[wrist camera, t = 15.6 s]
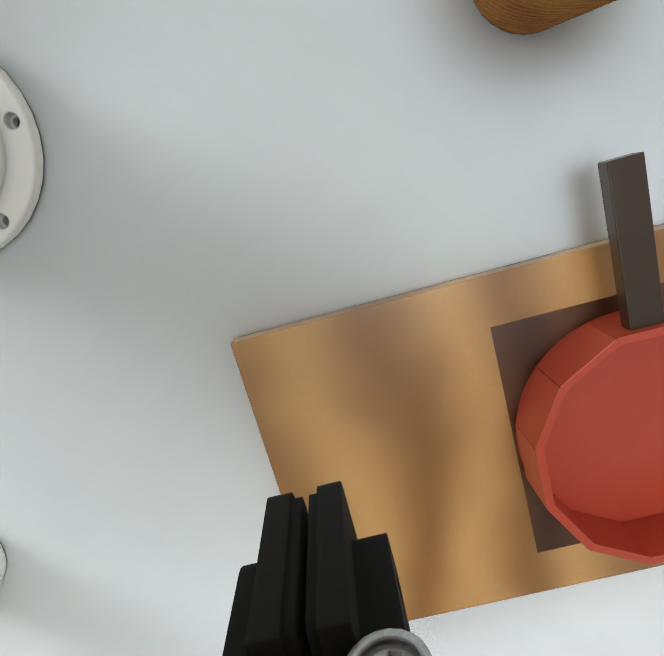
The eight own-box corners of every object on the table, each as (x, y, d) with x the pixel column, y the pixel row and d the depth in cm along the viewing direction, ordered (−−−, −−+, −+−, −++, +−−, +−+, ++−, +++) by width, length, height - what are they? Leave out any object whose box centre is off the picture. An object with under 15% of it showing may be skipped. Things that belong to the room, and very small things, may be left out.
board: (329, 624, 38) (328, 638, 37) (233, 338, 33) (230, 343, 32) (790, 523, 36) (805, 534, 35) (766, 196, 31) (783, 196, 29)
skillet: (536, 541, 35) (561, 585, 31) (465, 195, 30) (484, 196, 26) (756, 491, 34) (810, 530, 30) (723, 124, 28) (783, 113, 25)
